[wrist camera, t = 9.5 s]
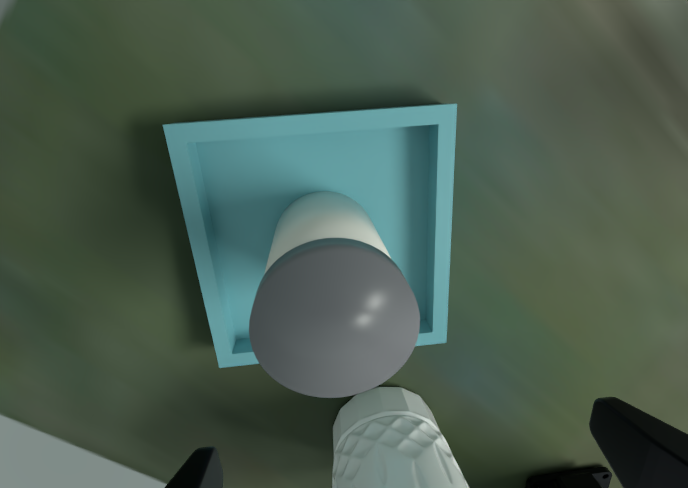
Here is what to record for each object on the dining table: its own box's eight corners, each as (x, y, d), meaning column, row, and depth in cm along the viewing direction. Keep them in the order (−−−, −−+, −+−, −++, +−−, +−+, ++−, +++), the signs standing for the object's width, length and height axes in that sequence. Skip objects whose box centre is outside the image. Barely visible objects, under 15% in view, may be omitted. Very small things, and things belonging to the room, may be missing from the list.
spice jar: (374, 184, 18) (420, 243, 11) (377, 280, 20) (419, 388, 13) (265, 193, 18) (235, 261, 10) (279, 290, 20) (262, 406, 12)
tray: (435, 324, 22) (446, 342, 21) (226, 347, 22) (219, 368, 20) (443, 103, 18) (456, 103, 16) (177, 122, 17) (162, 124, 15)
